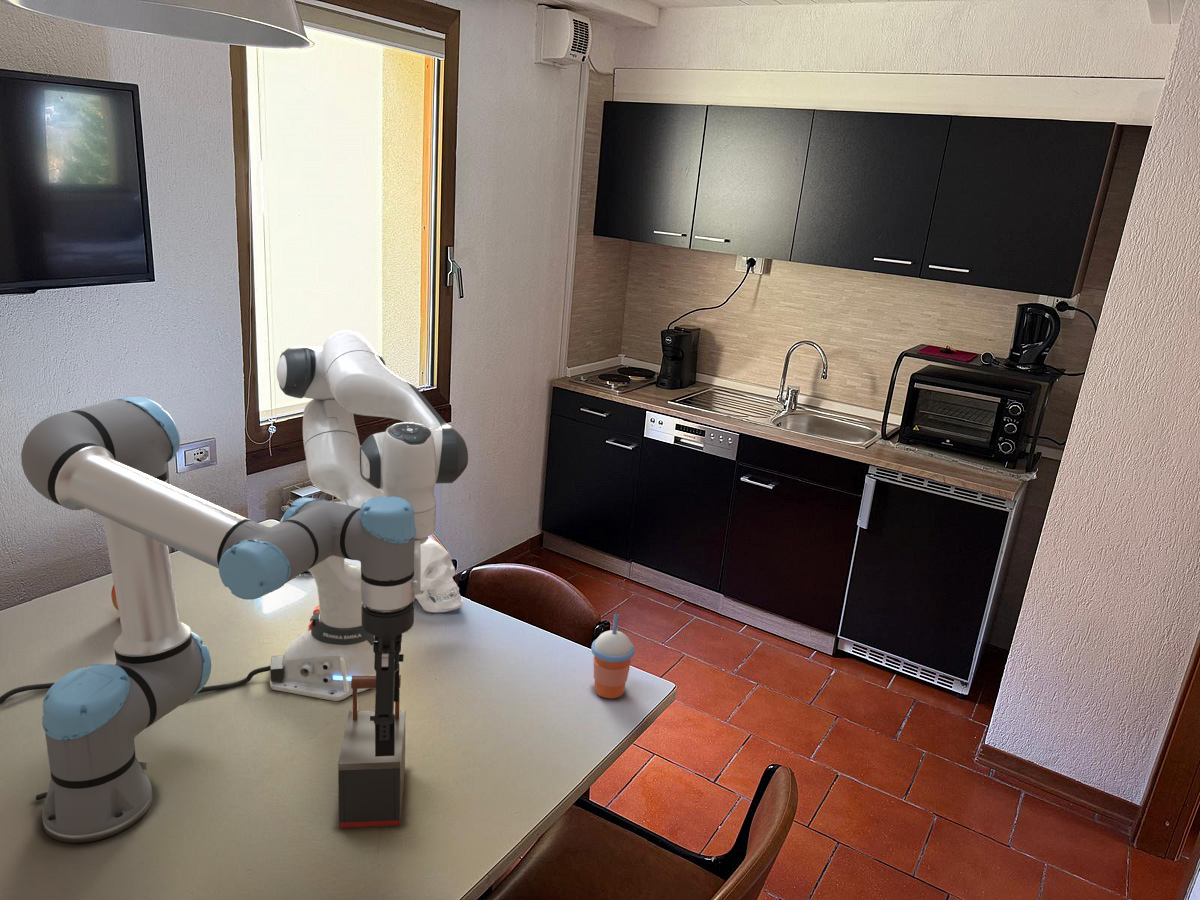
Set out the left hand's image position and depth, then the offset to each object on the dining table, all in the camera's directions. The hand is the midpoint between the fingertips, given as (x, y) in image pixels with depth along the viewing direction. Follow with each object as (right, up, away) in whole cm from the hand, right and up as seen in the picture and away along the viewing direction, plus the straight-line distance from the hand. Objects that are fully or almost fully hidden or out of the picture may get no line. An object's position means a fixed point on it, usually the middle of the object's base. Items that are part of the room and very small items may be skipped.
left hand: (387, 726), depth 131 cm
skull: (-11, +5, +82) cm, 83 cm away
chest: (-6, -17, +14) cm, 23 cm away
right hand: (0, +17, +16) cm, 24 cm away
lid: (-5, -6, +11) cm, 14 cm away
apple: (-73, +4, +65) cm, 98 cm away
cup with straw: (+34, -9, +50) cm, 62 cm away
